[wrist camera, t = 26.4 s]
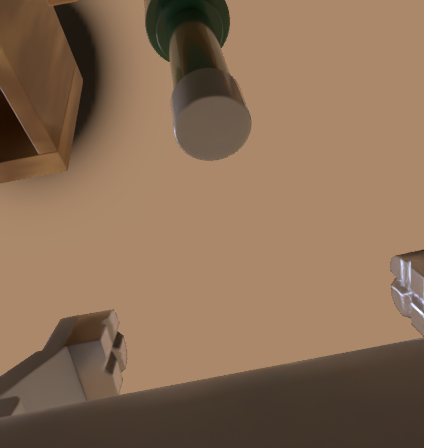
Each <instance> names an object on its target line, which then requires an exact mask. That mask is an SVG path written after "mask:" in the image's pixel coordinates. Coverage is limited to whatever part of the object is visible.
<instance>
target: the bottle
mask: <svg viewBox="0 0 424 448" xmlns="http://www.w3.org/2000/svg"><path fill="white" fill-rule="evenodd" d="M144 8H145V25H146V32H147V36H148V39H149V41H150V43H151V45H152V47H153V48H154V50H155V51H156V52H157V53H158V54H159V55H160V56H161V57H162V58H164V59H165V60H167V61H168V62H170V66H171V73H172V80H173V87H174V90H173V93H172V97H171V110H172V118H173V126H174V134H175V138H176V141H177V143H178V145H179V146H180V148H181V149H182V150H183V151H185V153H187V154H188V155H190V156H192V157H194V158H196V159H200V160H206V161H213V160H219V159H223V158H226V157H228V156H230V155H232V154H234V153H235V152H237V151H238V150H239V149H240V148H241V147H242V146H243V145H244V143H245V142H246V140H247V138H248V136H249V134H250V130H251V117H250V114H249V111H248V108H247V106H246V103H245V100H244V98H243V95H242V92H241V89H240V87H239V85H238V83H237V81H236V80H235V79H234V78H233V77H232V76H231V75H230V73H229V71H228V68H227V65H226V62H225V59H224V56H223V53H222V51H221V48H222V47H223V45H224V43H225V41H226V38H227V36H228V32H229V26H230V17H229V11H228V7H227V4H226V2H225V0H144Z"/></svg>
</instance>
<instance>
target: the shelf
mask: <svg viewBox="0 0 424 448" xmlns="http://www.w3.org/2000/svg"><path fill="white" fill-rule="evenodd" d="M82 83H83V79H82V77H81V74H80V72H79V69H78V67H77V64H76V63H75V60H74V57H73V55H72V52H71V50H70V47H69V45H68V42H67V40H66V37H65V35H64V32H63V30H62V28H61V25H60V23H59V20H58V18H57V15H56V13H55V10H54V8H53V6H49V5H48V2H47V0H0V183H4V182H10V181H15V180H21V179H26V178H31V177H36V176H41V175H47V174H52V173H57V172H62V171H67V170H68V165H69V159H70V153H71V147H72V141H73V135H74V130H75V124H76V118H77V112H78V106H79V100H80V95H81V89H82Z"/></svg>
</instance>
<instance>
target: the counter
mask: <svg viewBox="0 0 424 448" xmlns="http://www.w3.org/2000/svg"><path fill="white" fill-rule="evenodd" d="M74 1H79V0H47V2H48V5H49V6H54V5H59V4H64V3H69V2H74Z"/></svg>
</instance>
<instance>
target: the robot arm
mask: <svg viewBox="0 0 424 448" xmlns="http://www.w3.org/2000/svg"><path fill="white" fill-rule="evenodd" d="M390 271H391V272H392V273H393V274H394V275H395V276H396V278H395V279H394V281H393V283H392V284H391V290H392V297H393V301H394V304H395V306H396V308H397V309H398V311H399V312H400V313H401V314H402V315H403V316H405V317H408V318H411V320H412V326H413V327H414V328H416V330H417V331H418V332H419V333H420V334H421V335H423V337H424V250H420V251H415V252H410V253H406V254H401V255H396V256H394V257H392V258H391V262H390ZM118 326H119V320H118V317H117V314H116V312H115V311H114V310H108V311H101V312H96V313H90V314H84V315H77V316H72V317H67V318H63V319H61V320H60V321H59V323H58V325H57V327H56V328H55V330H54V332H53V333H52V335H51V337H50V338H49V340H48V342H47V344H46V345H45V347H44V349H43V350H42V351H38V352H36V353H34V354H33V355H31V356H30V357H28V358H27V359H25V360H24V361H23V362H21V363H20V364H18V365H17V366H15V367H14V368H12V369H11V370H9V371H8V372H6V373H5V374H3V375H2V376H0V448H424V338H420V339H414V340H409V341H404V342H399V343H393V344H388V345H383V346H378V347H372V348H367V349H362V350H357V351H352V352H346V353H341V354H335V355H330V356H325V357H320V358H314V359H309V360H303V361H298V362H293V363H288V364H282V365H277V366H272V367H266V368H261V369H256V370H250V371H245V372H240V373H235V374H229V375H224V376H219V377H213V378H208V379H203V380H197V381H193V382H187V383H181V384H176V385H171V386H165V387H160V388H155V389H150V390H144V391H139V392H134V393H129V394H123V395H119V393H120V389H121V385H122V381H123V378H122V375H121V372H122V371H123V370H124V369H125V368H126V364H127V349H126V343H125V340H124V336H123V335H122V334H120V333H119V332H118V331H117V330H118Z"/></svg>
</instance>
